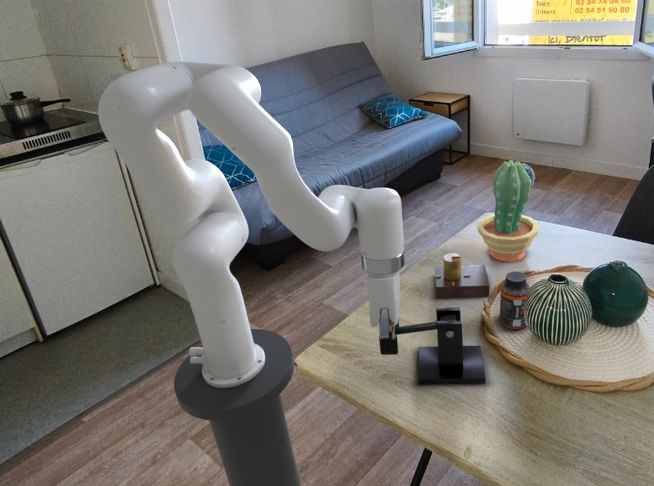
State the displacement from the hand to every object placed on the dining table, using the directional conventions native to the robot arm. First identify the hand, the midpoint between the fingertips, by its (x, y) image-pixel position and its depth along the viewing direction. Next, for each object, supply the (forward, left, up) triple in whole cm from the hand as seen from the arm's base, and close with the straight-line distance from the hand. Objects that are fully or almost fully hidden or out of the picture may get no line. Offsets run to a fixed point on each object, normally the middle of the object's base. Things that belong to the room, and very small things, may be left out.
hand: (390, 342), depth 94 cm
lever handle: (+6, 0, +2) cm, 6 cm away
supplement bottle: (+25, +13, -6) cm, 29 cm away
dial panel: (+15, +27, -6) cm, 31 cm away
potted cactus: (+28, +42, -6) cm, 51 cm away
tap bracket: (+11, 0, -6) cm, 13 cm away
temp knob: (+13, +27, -3) cm, 30 cm away
